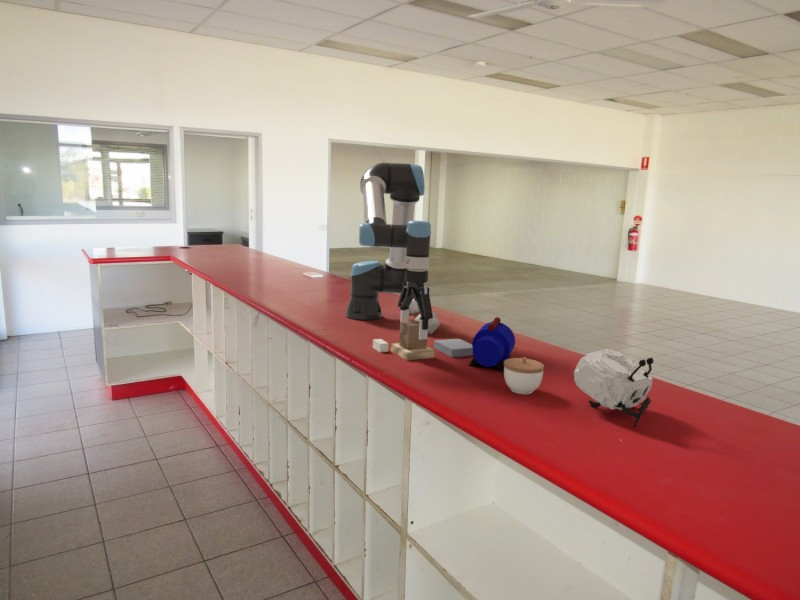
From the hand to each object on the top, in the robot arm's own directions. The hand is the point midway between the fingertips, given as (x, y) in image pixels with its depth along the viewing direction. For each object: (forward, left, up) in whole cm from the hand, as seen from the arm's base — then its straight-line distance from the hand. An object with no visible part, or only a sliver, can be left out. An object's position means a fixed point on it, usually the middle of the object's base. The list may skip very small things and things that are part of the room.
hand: (413, 334), depth 184 cm
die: (-25, +19, -7) cm, 32 cm away
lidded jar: (+41, +13, -7) cm, 44 cm away
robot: (+62, +27, -7) cm, 68 cm away
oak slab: (0, 0, -7) cm, 7 cm away
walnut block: (0, 0, -4) cm, 4 cm away
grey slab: (+1, +16, -7) cm, 18 cm away
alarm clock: (+19, +18, -7) cm, 27 cm away
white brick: (-8, -8, -7) cm, 13 cm away
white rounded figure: (-57, +31, -7) cm, 65 cm away
